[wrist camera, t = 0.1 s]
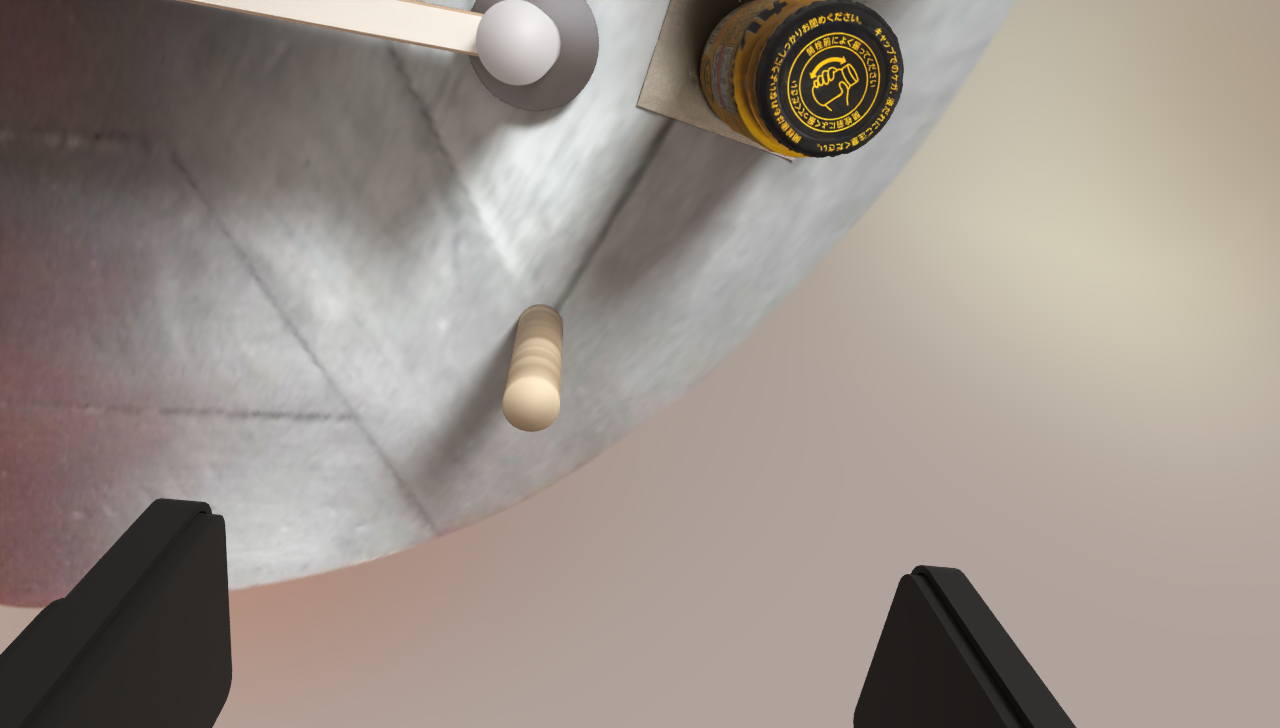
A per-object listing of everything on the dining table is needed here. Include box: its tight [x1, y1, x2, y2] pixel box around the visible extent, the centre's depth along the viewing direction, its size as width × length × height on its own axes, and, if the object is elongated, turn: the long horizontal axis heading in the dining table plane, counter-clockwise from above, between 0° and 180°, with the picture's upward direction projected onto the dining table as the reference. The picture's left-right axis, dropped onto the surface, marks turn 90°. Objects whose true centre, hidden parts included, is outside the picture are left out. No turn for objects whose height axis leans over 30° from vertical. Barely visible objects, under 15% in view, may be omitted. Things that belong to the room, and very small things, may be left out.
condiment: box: [637, 0, 904, 161], centre depth 32 cm, size 7×8×12 cm
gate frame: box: [469, 0, 599, 432], centre depth 32 cm, size 18×28×12 cm, turn 80°
